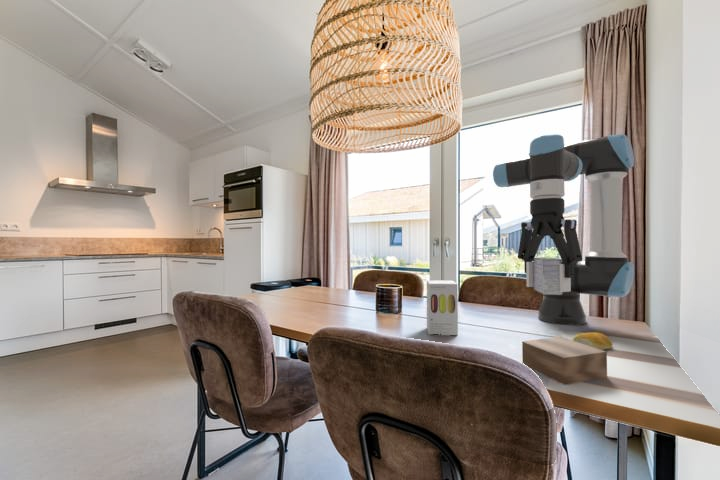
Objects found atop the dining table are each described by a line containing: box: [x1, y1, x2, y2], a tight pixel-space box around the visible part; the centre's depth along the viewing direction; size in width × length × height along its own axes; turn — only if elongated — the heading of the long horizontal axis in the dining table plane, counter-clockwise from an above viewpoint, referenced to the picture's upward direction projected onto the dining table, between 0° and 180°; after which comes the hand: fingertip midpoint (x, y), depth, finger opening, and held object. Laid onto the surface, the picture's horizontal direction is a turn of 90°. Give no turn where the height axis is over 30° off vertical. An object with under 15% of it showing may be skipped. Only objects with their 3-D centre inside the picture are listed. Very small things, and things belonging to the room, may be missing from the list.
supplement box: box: [426, 279, 459, 336], centre depth 113 cm, size 10×9×17 cm
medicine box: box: [533, 256, 562, 295], centre depth 84 cm, size 8×4×9 cm, turn 167°
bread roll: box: [572, 331, 613, 351], centre depth 96 cm, size 8×9×4 cm
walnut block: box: [521, 336, 608, 386], centre depth 79 cm, size 12×12×6 cm
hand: (547, 288), depth 84 cm, fingers closed on medicine box, 9 cm apart
